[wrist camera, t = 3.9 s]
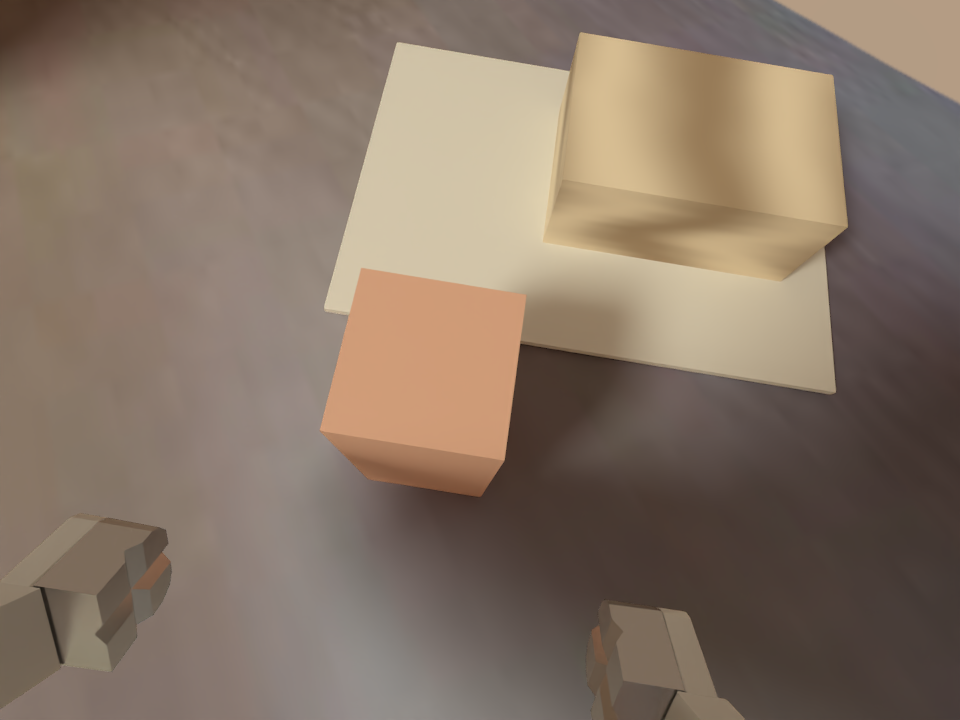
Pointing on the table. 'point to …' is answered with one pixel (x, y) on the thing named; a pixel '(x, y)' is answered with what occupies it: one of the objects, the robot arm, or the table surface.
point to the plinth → (695, 160)
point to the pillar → (425, 381)
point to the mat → (543, 266)
